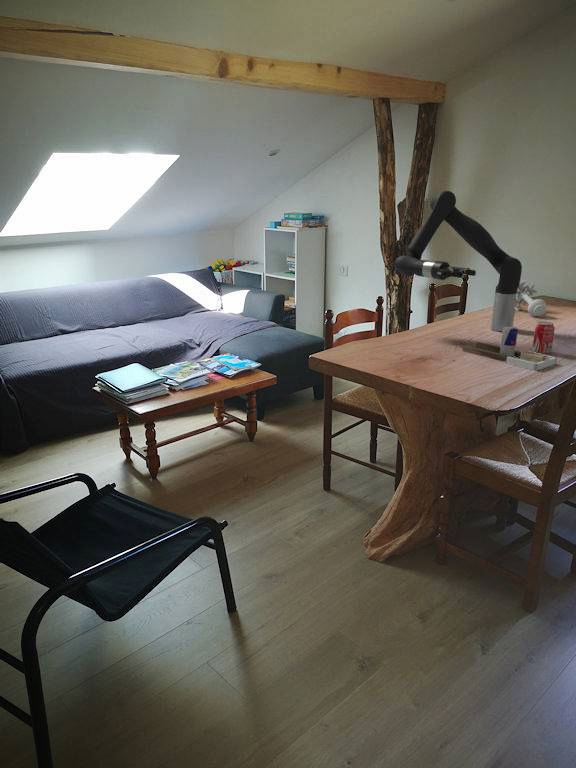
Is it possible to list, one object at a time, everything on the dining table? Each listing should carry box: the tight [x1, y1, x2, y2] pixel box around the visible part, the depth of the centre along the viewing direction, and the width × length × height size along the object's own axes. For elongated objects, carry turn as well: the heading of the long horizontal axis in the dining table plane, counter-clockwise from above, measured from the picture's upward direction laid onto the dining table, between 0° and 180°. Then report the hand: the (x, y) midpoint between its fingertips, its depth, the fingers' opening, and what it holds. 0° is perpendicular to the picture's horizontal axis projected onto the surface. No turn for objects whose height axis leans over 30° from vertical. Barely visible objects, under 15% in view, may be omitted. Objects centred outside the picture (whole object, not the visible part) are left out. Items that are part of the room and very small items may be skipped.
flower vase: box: [515, 278, 547, 317], centre depth 295 cm, size 13×18×25 cm
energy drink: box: [499, 325, 519, 358], centre depth 216 cm, size 5×5×12 cm
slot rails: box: [461, 341, 522, 362], centre depth 223 cm, size 11×19×2 cm, turn 38°
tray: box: [505, 350, 558, 372], centre depth 210 cm, size 14×12×2 cm
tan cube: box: [519, 350, 535, 362], centre depth 211 cm, size 4×4×4 cm
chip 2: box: [531, 353, 547, 363], centre depth 209 cm, size 4×4×4 cm
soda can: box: [532, 320, 555, 355], centre depth 224 cm, size 7×7×12 cm
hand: (468, 274), depth 224 cm, fingers open, 8 cm apart
